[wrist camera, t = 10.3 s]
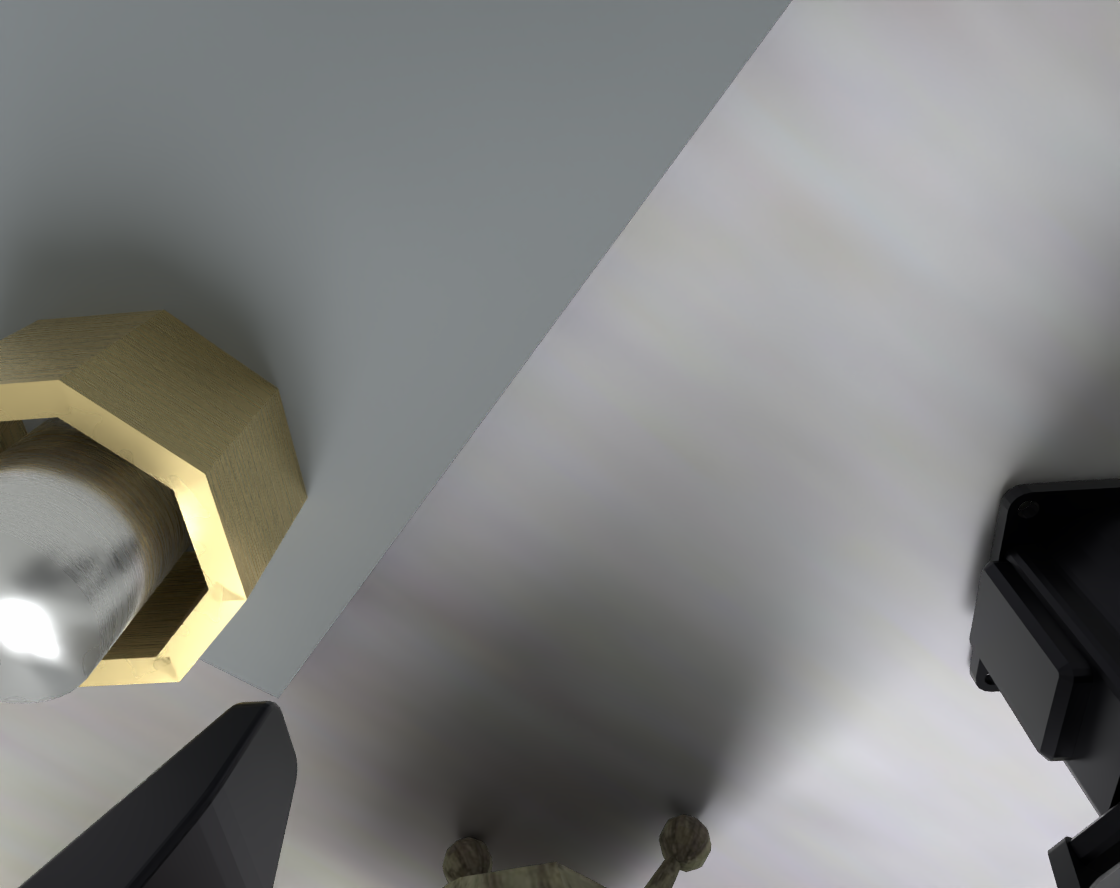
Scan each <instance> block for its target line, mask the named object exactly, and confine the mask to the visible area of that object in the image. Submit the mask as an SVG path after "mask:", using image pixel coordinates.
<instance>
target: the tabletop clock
mask: <svg viewBox="0 0 1120 888" xmlns="http://www.w3.org/2000/svg"><path fill="white" fill-rule="evenodd" d="M659 842H660V846H661V850H662V854H663V857H664V859H665V860H664V861H663V863H662V864H661V866H660V867H659V868H658V870H657V871H656V872H655V874H654V875H653V877H652V878H651V879H650V881H649V882H648V883H647V885H646V886H645V887H644V888H672V887H673V884H674V882H675V880H676V877H677V875H678V873H679V870H682V871H685V872H688V871H691V870H695V869H698V868H700V867H702V866H703V864H704V862H705V860H706V858H707V857H708V855H709V853H710V851H711V842H710V838H709V833H708V830H707V828H706V827H705V826H704V825H703V824H702V823H701V822H700V821H699V820H698V819H697V818H695V817H692V816H688V815H685V814H683V815H680V816H677V817H674V818H671V819H669V820H668V821H667V823H666V824H665V826H664V828H663V830H662V832H661V834H660V838H659ZM492 864H493V862H492V859H491V856H490V853H489V851H488V848H487V846H486V845H485V844H484V843H483V842H482V841H479V840H477V839H474V838H470V837H467V838H464V839H460V840H457V841H456V842H455V843H454V844H453V845H452V846H451V847H450V848H449V849H448V850H447V852H446V855H445V858H444V861H443V866H442V867H443V872H444V874H445V877H446V879H447V881H448V884H447V885H446V886H444V887H443V888H606V887H604V886H602V885H600V884H598V883H597V882H595V881H593V880H591V879H589V878H587V877H585V876H583V875H581V874H579V873H577V872H575V871H573V870H571V869H569V868H567V867H565V866H563V865H562V864H560V863H558V862H551V863H545V864H539V865H532V866H526V867H520V868H514V869H508V870H501V871H495V872H491V870H492Z"/></svg>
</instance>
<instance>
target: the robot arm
mask: <svg viewBox="0 0 1120 888" xmlns="http://www.w3.org/2000/svg"><path fill="white" fill-rule="evenodd" d="M1027 501H1031V503H1030V505H1029V506H1028V507H1026V508H1025V509H1021V510H1018V509H1019V507H1020V505H1022V504H1023V503H1024V502H1027ZM970 643H971V645H972V647H973V653H972V659H971V664H970V675H971V676H972V678H973V680H974V682H975V683H976V685H977V686H978V687H979V688H980V689H982V690H984V691H990V692H995V691H1000V692H1001V693H1002V695H1003V697H1004V698H1005V700H1006V701H1007V703H1008V705H1009V706H1010V708H1011V710H1012V711H1013V713H1014V714H1015V716H1016V718H1017V719H1018V721H1019V722H1020V724H1021V726H1022V727H1023V729H1024V730H1025V732H1026V734H1027V735H1028V737H1029V738H1030V740H1031V742H1032V743H1033V745H1034V747H1035V748H1036V750H1037V751H1038V752H1039V753H1040V754H1041V755H1042V756H1043V757H1045V758H1046V759H1047V760H1048V761H1064V763H1065V764H1066V766H1067V767H1068V769H1069V770H1070V772H1071V773H1072V775H1073V776H1074V778H1075V779H1076V781H1077V783H1078V784H1079V786H1080V787H1081V789H1082V790H1083V792H1084V793H1085V795H1086V796H1087V798H1088V800H1089V801H1090V803H1091V804H1092V806H1093V807H1094V809H1095V810H1096V812H1097V813H1098V815H1099V818H1098V819H1097V820H1095V821H1094V822H1093V823H1091V824H1090V825H1089V826H1088V827H1086V828H1085V829H1084V830H1082V831H1081V832H1080V833H1079V834H1077V835H1076V836H1075V837H1073V838H1071V837H1065V838H1064V839H1063V840H1061V841H1060V842H1059V843H1057V844H1056V845H1055V846H1054V847H1052V848H1051V849H1050V850H1048V856H1049V859H1050V863H1051V866H1052V870H1053V873H1054V877H1055V880H1056V884H1057V887H1058V888H1120V479H1105V480H1087V481H1070V482H1052V483H1034V484H1022V485H1018V486H1015V487H1013V488H1012V489H1010V490H1008V491H1007V492H1006V494H1005V495H1004V496H1003V498H1002V500H1001V503H1000V508H999V514H998V519H997V524H996V530H995V535H994V540H993V546H992V551H991V557H990V561H989V562H988V563H987V564H986V565H985V567H984V568H983V569H982V573H981V578H980V584H979V589H978V595H977V600H976V606H975V611H974V617H973V622H972V628H971V633H970ZM987 674H989V675H987ZM296 778H297V759H296V755H295V751H294V748H293V745H292V742H291V739H290V736H289V733H288V730H287V726H286V723H285V720H284V717H283V714H282V711H281V709H280V707H279V706H278V705H277V704H276V703H274V702H271V701H261V702H242V703H238V704H235V705H233V706H232V707H231V708H229V709H228V710H227V711H226V712H224V713H223V714H222V715H221V716H220V717H218V718H217V719H216V720H215V721H214V722H213V723H211V724H210V725H209V726H208V727H207V728H206V729H204V730H203V731H202V732H201V733H200V734H198V735H197V736H196V737H195V738H194V739H193V740H191V741H190V742H189V743H188V744H187V745H186V746H184V747H183V748H182V749H181V750H180V751H178V752H177V753H176V754H175V755H174V756H173V757H171V758H170V759H169V760H168V761H167V762H166V763H164V764H163V765H162V766H161V767H160V768H158V769H157V770H156V771H155V772H154V773H153V774H151V775H150V776H149V777H148V778H147V779H146V780H144V781H143V782H142V783H141V784H140V785H138V786H137V787H136V788H135V789H134V790H133V791H131V792H130V793H129V794H128V795H127V796H125V797H124V798H123V799H122V800H121V801H120V802H118V803H117V804H116V805H115V806H114V807H113V808H111V809H110V810H109V811H108V812H107V813H105V814H104V815H103V816H102V817H101V818H100V819H98V820H97V821H96V822H95V823H94V824H93V825H91V826H90V827H89V828H88V829H87V830H85V831H84V832H83V833H82V834H81V835H80V836H78V837H77V838H76V839H75V840H74V841H73V842H71V843H70V844H69V845H68V846H67V847H65V848H64V849H63V850H62V851H61V852H60V853H58V854H57V855H56V856H55V857H54V858H52V859H51V860H50V861H49V862H48V863H47V864H45V865H44V866H43V867H42V868H41V869H40V870H38V871H37V872H36V873H35V874H34V875H32V876H31V877H30V878H29V879H28V880H27V881H25V882H24V883H23V884H22V885H21V886H20V887H18V888H273V884H274V880H275V875H276V871H277V866H278V861H279V857H280V852H281V848H282V843H283V839H284V834H285V829H286V825H287V820H288V816H289V811H290V806H291V802H292V797H293V793H294V788H295V784H296Z"/></svg>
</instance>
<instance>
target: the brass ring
mask: <svg viewBox="0 0 1120 888" xmlns="http://www.w3.org/2000/svg"><path fill="white" fill-rule="evenodd" d="M52 417H58V418H60V419H61V420H63V421H64V422H66V423H68V424H69V425H71V426H72V427H74V428H76V429H77V430H79V431H80V432H82V433H84V434H85V435H87V436H88V437H90V438H92V439H93V440H95V441H96V442H98V443H99V444H101V445H103V446H104V447H106V448H107V449H109V450H111V451H112V452H114V453H115V454H117V455H119V456H120V457H122V458H123V459H125V460H127V461H128V462H130V463H131V464H133V465H134V466H136V467H138V468H139V469H141V470H142V471H144V472H146V473H147V474H149V475H150V476H152V477H154V478H155V479H157V480H158V481H160V482H162V483H163V484H165V485H166V486H168V487H170V488H171V489H173V490H174V493H175V496H176V498H177V501H178V504H179V507H180V510H181V512H182V515H183V518H184V521H185V524H186V527H187V529H188V532H189V535H190V538H191V541H192V543H193V546H194V549H195V551H189V552H184V553H183V555H182V556H181V557H180V558H179V560H178V561H177V562H176V564H175V565H174V566H173V568H172V569H171V570H170V571H169V573H168V574H167V575H166V577H165V578H164V579H163V581H162V582H161V583H160V584H159V586H158V587H157V588H156V590H155V591H154V592H153V594H152V595H151V596H150V597H149V599H148V600H147V601H146V603H145V604H144V605H143V607H142V608H141V609H140V610H139V612H138V613H137V614H136V616H135V617H134V618H133V620H132V621H131V622H130V623H129V625H128V626H127V627H126V629H125V630H124V631H123V633H122V634H121V635H120V636H119V638H118V639H117V640H116V642H115V643H114V644H113V646H112V647H111V648H110V649H109V651H108V652H107V653H106V655H105V656H104V657H103V659H102V660H101V661H100V662H99V664H98V665H97V666H96V668H95V669H94V670H93V672H92V673H91V674H90V675H89V677H88V678H87V679H86V680H85V681H84V682H83V683H82V684H81V685H80V686H79V687H85V686H105V685H125V684H145V683H164V682H180V681H181V679H182V678H183V677H184V676H185V674H186V673H187V672H188V671H189V670H190V668H191V667H192V666H193V665H194V663H195V662H196V661H197V660H198V659H199V657H200V656H201V655H202V654H203V653H204V651H205V650H206V649H207V648H208V646H209V645H210V644H211V643H212V642H213V640H214V639H215V638H216V637H217V635H218V634H219V633H220V632H221V631H222V629H223V628H224V627H225V626H226V624H227V623H228V622H229V621H230V620H231V618H232V617H233V616H234V615H235V613H236V612H237V611H238V610H239V609H240V607H241V606H242V605H243V604H244V602H245V601H246V600H247V599H248V597H249V595H250V594H251V592H252V590H253V589H254V587H255V585H256V583H257V582H258V580H259V578H260V577H261V575H262V573H263V572H264V570H265V568H266V567H267V565H268V563H269V562H270V560H271V558H272V557H273V555H274V553H275V552H276V550H277V548H278V547H279V545H280V543H281V542H282V540H283V538H284V537H285V535H286V533H287V531H288V530H289V528H290V526H291V525H292V523H293V521H294V520H295V518H296V516H297V515H298V513H299V511H300V510H301V508H302V506H303V505H304V503H305V501H306V500H307V498H308V496H307V493H306V489H305V485H304V482H303V478H302V474H301V471H300V467H299V463H298V460H297V456H296V452H295V448H294V445H293V441H292V437H291V434H290V430H289V426H288V423H287V419H286V415H285V412H284V408H283V404H282V400H281V397H280V393H279V389H278V388H277V387H275V386H274V385H272V384H271V383H269V382H268V381H266V380H265V379H264V378H262V377H261V376H259V375H258V374H256V373H255V372H254V371H252V370H251V369H249V368H248V367H246V366H245V365H243V364H242V363H241V362H239V361H238V360H236V359H235V358H233V357H232V356H230V355H229V354H228V353H226V352H225V351H223V350H222V349H220V348H219V347H217V346H216V345H215V344H213V343H212V342H210V341H209V340H207V339H206V338H204V337H203V336H202V335H200V334H199V333H197V332H196V331H194V330H193V329H191V328H190V327H189V326H187V325H186V324H184V323H183V322H181V321H180V320H178V319H177V318H176V317H174V316H173V315H171V314H170V313H168V312H167V311H165V310H153V311H141V312H129V313H117V314H105V315H93V316H81V317H69V318H57V319H45V320H37V321H36V322H34V323H32V324H30V325H28V326H26V327H24V328H22V329H21V330H19V331H17V332H15V333H13V334H11V335H9V336H7V337H5V338H4V339H2V340H0V453H2V452H3V451H4V450H6V449H7V448H9V447H10V446H11V445H13V444H14V443H15V442H17V441H18V440H20V439H21V438H22V437H24V436H25V435H26V434H28V433H27V431H26V428H25V426H24V424H23V422H22V420H25V419H39V418H52Z"/></svg>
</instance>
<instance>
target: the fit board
mask: <svg viewBox="0 0 1120 888" xmlns="http://www.w3.org/2000/svg"><path fill="white" fill-rule="evenodd" d="M791 1H792V0H0V340H2V339H4V338H5V337H7V336H9V335H11V334H13V333H15V332H17V331H19V330H21V329H22V328H24V327H26V326H28V325H30V324H32V323H34V322H36V321H37V320H45V319H57V318H69V317H81V316H93V315H105V314H117V313H129V312H141V311H153V310H165V311H167V312H168V313H170V314H171V315H173V316H174V317H176V318H177V319H178V320H180V321H181V322H183V323H184V324H186V325H187V326H189V327H190V328H191V329H193V330H194V331H196V332H197V333H199V334H200V335H202V336H203V337H204V338H206V339H207V340H209V341H210V342H212V343H213V344H215V345H216V346H217V347H219V348H220V349H222V350H223V351H225V352H226V353H228V354H229V355H230V356H232V357H233V358H235V359H236V360H238V361H239V362H241V363H242V364H243V365H245V366H246V367H248V368H249V369H251V370H252V371H254V372H255V373H256V374H258V375H259V376H261V377H262V378H264V379H265V380H266V381H268V382H269V383H271V384H272V385H274V386H275V387H277V388H278V389H279V393H280V397H281V400H282V404H283V408H284V412H285V415H286V419H287V423H288V426H289V430H290V434H291V437H292V441H293V445H294V448H295V452H296V456H297V460H298V463H299V467H300V471H301V474H302V478H303V482H304V485H305V489H306V493H307V496H308V498H307V500H306V501H305V503H304V505H303V506H302V508H301V510H300V511H299V513H298V515H297V516H296V518H295V520H294V521H293V523H292V525H291V526H290V528H289V530H288V531H287V533H286V535H285V537H284V538H283V540H282V542H281V543H280V545H279V547H278V548H277V550H276V552H275V553H274V555H273V557H272V558H271V560H270V562H269V563H268V565H267V567H266V568H265V570H264V572H263V573H262V575H261V577H260V578H259V580H258V582H257V583H256V585H255V587H254V589H253V590H252V592H251V594H250V595H249V597H248V599H247V600H246V601H245V602H244V604H243V605H242V606H241V607H240V609H239V610H238V611H237V612H236V613H235V615H234V616H233V617H232V618H231V620H230V621H229V622H228V623H227V624H226V626H225V627H224V628H223V629H222V631H221V632H220V633H219V634H218V635H217V637H216V638H215V639H214V640H213V642H212V643H211V644H210V645H209V646H208V648H207V649H206V650H205V651H204V653H203V654H202V655H201V656H200V657H199V659H200V660H202V661H204V662H206V663H208V664H210V665H212V666H214V667H216V668H218V669H220V670H222V671H224V672H226V673H228V674H230V675H232V676H234V677H236V678H238V679H240V680H242V681H244V682H246V683H248V684H250V685H252V686H254V687H256V688H258V689H260V690H262V691H264V692H266V693H268V694H270V695H272V696H274V697H276V698H279V697H280V695H281V694H282V693H283V691H284V690H285V689H286V687H287V686H288V685H289V683H290V682H291V681H292V679H293V678H294V676H295V675H296V674H297V672H298V671H299V670H300V668H301V667H302V666H303V664H304V663H305V662H306V660H307V659H308V657H309V656H310V655H311V653H312V652H313V651H314V649H315V648H316V647H317V645H318V644H319V642H320V641H321V640H322V638H323V637H324V636H325V634H326V633H327V632H328V630H329V629H330V628H331V626H332V625H333V623H334V622H335V621H336V619H337V618H338V617H339V615H340V614H341V613H342V611H343V610H344V609H345V607H346V606H347V604H348V603H349V602H350V600H351V599H352V598H353V596H354V595H355V594H356V592H357V591H358V590H359V588H360V587H361V585H362V584H363V583H364V581H365V580H366V579H367V577H368V576H369V575H370V573H371V572H372V570H373V569H374V568H375V566H376V565H377V564H378V562H379V561H380V560H381V558H382V557H383V556H384V554H385V553H386V551H387V550H388V549H389V547H390V546H391V545H392V543H393V542H394V541H395V539H396V538H397V537H398V535H399V534H400V532H401V531H402V530H403V528H404V527H405V526H406V524H407V523H408V522H409V520H410V519H411V518H412V516H413V515H414V513H415V512H416V511H417V509H418V508H419V507H420V505H421V504H422V503H423V501H424V500H425V498H426V497H427V496H428V494H429V493H430V492H431V490H432V489H433V488H434V486H435V485H436V484H437V482H438V481H439V479H440V478H441V477H442V475H443V474H444V473H445V471H446V470H447V469H448V467H449V466H450V465H451V463H452V462H453V460H454V459H455V458H456V456H457V455H458V454H459V452H460V451H461V450H462V448H463V447H464V446H465V444H466V443H467V441H468V440H469V439H470V437H471V436H472V435H473V433H474V432H475V431H476V429H477V428H478V426H479V425H480V424H481V422H482V421H483V420H484V418H485V417H486V416H487V414H488V413H489V412H490V410H491V409H492V407H493V406H494V405H495V403H496V402H497V401H498V399H499V398H500V397H501V395H502V394H503V393H504V391H505V390H506V388H507V387H508V386H509V384H510V383H511V382H512V380H513V379H514V378H515V376H516V375H517V374H518V372H519V371H520V369H521V368H522V367H523V365H524V364H525V363H526V361H527V360H528V359H529V357H530V356H531V354H532V353H533V352H534V350H535V349H536V348H537V346H538V345H539V344H540V342H541V341H542V340H543V338H544V337H545V335H546V334H547V333H548V331H549V330H550V329H551V327H552V326H553V325H554V323H555V322H556V321H557V319H558V318H559V316H560V315H561V314H562V312H563V311H564V310H565V308H566V307H567V306H568V304H569V303H570V302H571V300H572V299H573V297H574V296H575V295H576V293H577V292H578V291H579V289H580V288H581V287H582V285H583V284H584V282H585V281H586V280H587V278H588V277H589V276H590V274H591V273H592V272H593V270H594V269H595V268H596V266H597V265H598V263H599V262H600V261H601V259H602V258H603V257H604V255H605V254H606V253H607V251H608V250H609V249H610V247H611V246H612V244H613V243H614V242H615V240H616V239H617V238H618V236H619V235H620V234H621V232H622V231H623V230H624V228H625V227H626V225H627V224H628V223H629V221H630V220H631V219H632V217H633V216H634V215H635V213H636V212H637V210H638V209H639V208H640V206H641V205H642V204H643V202H644V201H645V200H646V198H647V197H648V196H649V194H650V193H651V191H652V190H653V189H654V187H655V186H656V185H657V183H658V182H659V181H660V179H661V178H662V177H663V175H664V174H665V172H666V171H667V170H668V168H669V167H670V166H671V164H672V163H673V162H674V160H675V159H676V158H677V156H678V155H679V153H680V152H681V151H682V149H683V148H684V147H685V145H686V144H687V143H688V141H689V140H690V138H691V137H692V136H693V134H694V133H695V132H696V130H697V129H698V128H699V126H700V125H701V124H702V122H703V121H704V119H705V118H706V117H707V115H708V114H709V113H710V111H711V110H712V109H713V107H714V106H715V105H716V103H717V102H718V100H719V99H720V98H721V96H722V95H723V94H724V92H725V91H726V90H727V88H728V87H729V86H730V84H731V83H732V81H733V80H734V79H735V77H736V76H737V75H738V73H739V72H740V71H741V69H742V68H743V66H744V65H745V64H746V62H747V61H748V60H749V58H750V57H751V56H752V54H753V53H754V52H755V50H756V49H757V47H758V46H759V45H760V43H761V42H762V41H763V39H764V38H765V37H766V35H767V34H768V33H769V31H770V30H771V28H772V27H773V26H774V24H775V23H776V22H777V20H778V19H779V18H780V16H781V15H782V14H783V12H784V11H785V9H786V8H787V7H788V5H789V4H790V3H791ZM22 422H23V424H24V426H25V428H26V431H27V433H28V434H26V435H25V436H24V437H22V438H21V439H20V440H18V441H17V442H15V443H14V444H13V445H11V446H10V447H9V448H7V449H6V450H4V451H3V452H2V453H0V702H6V703H37V702H43V701H48V700H52V699H55V698H58V697H61V696H63V695H65V694H67V693H70V692H71V691H73V690H74V689H76V688H77V687H79V686H80V685H81V684H82V683H83V682H84V681H85V680H86V679H87V678H88V677H89V675H90V674H91V673H92V672H93V670H94V669H95V668H96V666H97V665H98V664H99V662H100V661H101V660H102V659H103V657H104V656H105V655H106V653H107V652H108V651H109V649H110V648H111V647H112V646H113V644H114V643H115V642H116V640H117V639H118V638H119V636H120V635H121V634H122V633H123V631H124V630H125V629H126V627H127V626H128V625H129V623H130V622H131V621H132V620H133V618H134V617H135V616H136V614H137V613H138V612H139V610H140V609H141V608H142V607H143V605H144V604H145V603H146V601H147V600H148V599H149V597H150V596H151V595H152V594H153V592H154V591H155V590H156V588H157V587H158V586H159V584H160V583H161V582H162V581H163V579H164V578H165V577H166V575H167V574H168V573H169V571H170V570H171V569H172V568H173V566H174V565H175V564H176V562H177V561H178V560H179V558H180V557H181V556H182V555H183V553H184V552H189V551H195V549H194V546H193V543H192V541H191V538H190V535H189V532H188V529H187V527H186V524H185V521H184V518H183V515H182V512H181V510H180V507H179V504H178V501H177V498H176V496H175V493H174V490H173V489H171V488H170V487H168V486H166V485H165V484H163V483H162V482H160V481H158V480H157V479H155V478H154V477H152V476H150V475H149V474H147V473H146V472H144V471H142V470H141V469H139V468H138V467H136V466H134V465H133V464H131V463H130V462H128V461H127V460H125V459H123V458H122V457H120V456H119V455H117V454H115V453H114V452H112V451H111V450H109V449H107V448H106V447H104V446H103V445H101V444H99V443H98V442H96V441H95V440H93V439H92V438H90V437H88V436H87V435H85V434H84V433H82V432H80V431H79V430H77V429H76V428H74V427H72V426H71V425H69V424H68V423H66V422H64V421H63V420H61V419H60V418H58V417H52V418H39V419H25V420H22Z"/></svg>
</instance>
